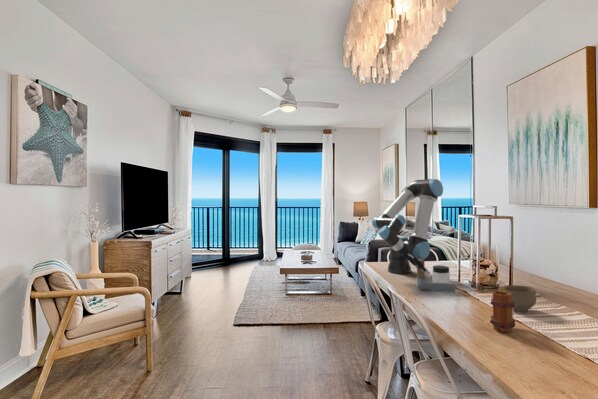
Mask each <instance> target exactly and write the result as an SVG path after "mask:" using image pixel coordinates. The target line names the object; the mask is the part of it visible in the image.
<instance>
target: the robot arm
mask: <svg viewBox="0 0 598 399" xmlns="http://www.w3.org/2000/svg"><path fill="white" fill-rule="evenodd" d="M443 194H444V185H443V183H442V181H441V180H439V178H429V179H427V178H426V179H417V180H414V181H412V182H410V183H409V184H407V185H406V186H405V187H404V188H403V189H402V190H401V194H400V195H399V196H397V198H395V200H394V201H393V202H392V203H391V204H390V205H389V206H388V207H387V208H386V209H385V210H384V211H383V213H382V214H380V215H379V216H375V217H374V218H372V222H371V225H372V227H374V228H375V229H379V231H378V235H379V237H380V238H381V239H382V240H383V241H384V242H385V243H386V244H387V245H388V246H389V253H390V257H389V258H390V260H389V264H388V266H387V271H388V272H389V273H392V274H399V275H400V274H401V275H403V274H405V275H407V274H410V273H412V266H411V265H413V266H415V268H416V269H417V266H418V267H419V269H421V270H422V271H423V272H424V273H425V276H426V277H428V276H429V275H430V274H431V272H430V271H429V270H428V269H427V268H426V266H425V267H424V265H423V264H422V263H421V262H420V261H419V260H418V259H424V260H425V259H426V258H428V256H429V255H430V253H431V247H430V246H431V245H430V243H429V242H428V241H429V239H428V238H427V235H428V231H429V228H430V227H429V226H430V221H431V218H432V213H433V208H434V204H435V203H436V202H437V201H438V198H439V197H441V196H442V195H443ZM416 198H418V199H419V204H418V208H417V213H416V218H415V222H414V225H413V230H412V234H411V235H409V236H401V237H400V236H399V235H398V234H399V233H400V231H402V229H403V228H404V227H405V224H406V223H407V219H406V217H405V216H404V215H402V214H400V213H401V211H402V210H403V209H404V208H405V207H406V206H407V205H408V204H409V202H412V201H413V200H414V199H416Z"/></svg>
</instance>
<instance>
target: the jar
mask: <svg viewBox="0 0 598 399" xmlns="http://www.w3.org/2000/svg"><path fill="white" fill-rule="evenodd" d="M431 275H432V276H431V278H432V279H431V280H432V282H431V283H447V284H451V278H450V277H451V272H450V267H449V266H447V265H441V264H439V265H438V264H437V265H433V266H432V273H431Z"/></svg>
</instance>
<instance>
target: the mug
mask: <svg viewBox="0 0 598 399" xmlns="http://www.w3.org/2000/svg"><path fill="white" fill-rule="evenodd" d="M505 286H506V285H504V286H502V285H499V286H498V290H494V291H493V292H492V298H491V299H490V300H491V301H490V304H491V305H492V314H493V315H491V316H490V321H489V323H490V324H491V325H492V328H493V329H494V330H495V331H499V332H501V333H511V332H513V329H514V328H515V327H516V319H514V318H513V317H514V315H513V314H514V313H513V311H514V309H513V307H514V306H515V305H514V301H513V300H512V294H511V293H508V292H506V291H505Z"/></svg>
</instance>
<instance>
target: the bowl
mask: <svg viewBox="0 0 598 399" xmlns="http://www.w3.org/2000/svg"><path fill="white" fill-rule="evenodd" d="M504 286H505V291H506V292H508V293H511V294H512V300H513V301H514V305H515V306H514V307H513V311H514V310H515V311H517V312H528V311H529V310H530V309H531V308H533V307H534V306H535V305H536V303H537V295H536V294H537V293H536V291H537V289H536V288H535V287H532V286H526V285H515V284H513V285H504Z"/></svg>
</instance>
